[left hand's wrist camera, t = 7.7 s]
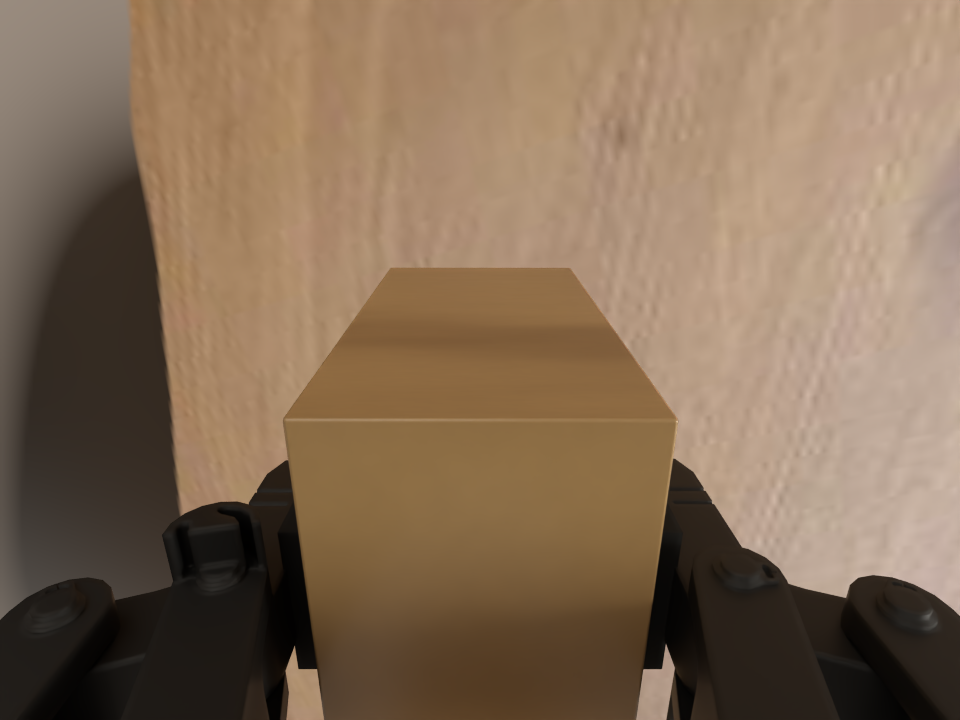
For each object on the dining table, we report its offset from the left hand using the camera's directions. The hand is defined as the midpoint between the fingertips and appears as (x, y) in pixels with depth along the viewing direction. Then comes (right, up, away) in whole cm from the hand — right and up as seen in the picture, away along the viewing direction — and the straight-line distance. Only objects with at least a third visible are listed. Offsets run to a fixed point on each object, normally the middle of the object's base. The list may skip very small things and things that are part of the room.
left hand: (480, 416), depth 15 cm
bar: (0, -8, +4) cm, 9 cm away
